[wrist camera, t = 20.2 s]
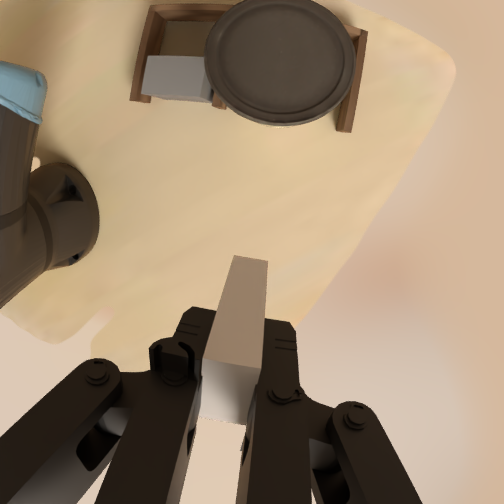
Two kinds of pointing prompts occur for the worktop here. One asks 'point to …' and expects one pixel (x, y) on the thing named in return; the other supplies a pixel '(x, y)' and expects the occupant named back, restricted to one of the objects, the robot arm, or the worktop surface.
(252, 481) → the robot arm
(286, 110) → the coffee can
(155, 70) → the grey block
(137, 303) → the worktop surface
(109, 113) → the worktop surface
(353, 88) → the comb rack
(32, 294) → the worktop surface
